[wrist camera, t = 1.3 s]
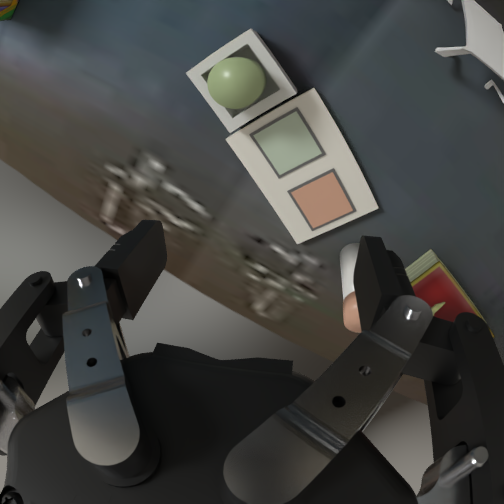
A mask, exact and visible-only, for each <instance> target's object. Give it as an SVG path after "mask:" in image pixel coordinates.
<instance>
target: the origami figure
mask: <svg viewBox="0 0 504 504" xmlns="http://www.w3.org/2000/svg"><path fill="white" fill-rule="evenodd" d="M447 1H448V2H449V3H450V4H451V5H452V2H453V0H447ZM461 1H462V7H463V12H464V17H465V27H466V46H464V47H447V48H436V51H435V52H436V53H438V54H440V55H442V56H443V57H448V56H454V55H462V54H472V55H473V56H475V57H476V58H477V59H479V60H480V61H481V62H482V63H484V64H485V65H486V66H487V67H489V68H490V69H491V70H492V71H493V72H494V73H496V74H497V75H498V76H499V77H500V78H501V79H502V80H504V32H503V30H502V24H500V23H498V22H497V21H496V20H495V18H493V17H492V16H491V15H490V14H489V13H488V12H486V11H485V10H484V9H483V8H482V7H481V6H480V5H479V4H477V3H476V2H475V1H474V0H461ZM492 85H493V86H494V87H495V89H496V91H497V93H498V94H499V96H500V98H501V100H502V102H503V103H504V96H503V95H502V93H501V92H500V90H499V89H498V87H497V86H496V84H495V83H494V81H493V80H490V81H489V82H488V83H486V84H485V86H484V87H485V88H486V89H488V88H490V87H491V86H492Z"/></svg>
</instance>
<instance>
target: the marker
mask: <svg viewBox="0 0 504 504" xmlns="http://www.w3.org/2000/svg"><path fill="white" fill-rule="evenodd" d="M359 245H360V244H359V243H351V244H348V245H346V246H345V247H344V248H343V249H342V250H341V252H340V266H341V277H342V289H343V316H344V325H345V326H346V328H347V329H349V330H350V331H353V332H357V333H361V325H360V319H359V313H358V307H357V301H356V295H355V290H354V284H353V275H354V268H355V263H356V259H357V254H358V249H359Z"/></svg>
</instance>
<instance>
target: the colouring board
mask: <svg viewBox="0 0 504 504" xmlns="http://www.w3.org/2000/svg"><path fill="white" fill-rule="evenodd" d="M226 141H227V142H228V144H229V145H230V146H231V148H232V149H233V151H234V152H235V153H236V155H237V156H238V158H239V159H240V160H241V162H242V163H243V165H244V166H245V168H246V169H247V170H248V172H249V173H250V175H251V176H252V178H253V179H254V181H255V182H256V183H257V185H258V186H259V188H260V189H261V191H262V192H263V194H264V195H265V197H266V198H267V200H268V201H269V202H270V204H271V205H272V207H273V208H274V210H275V211H276V213H277V214H278V216H279V217H280V219H281V220H282V222H283V223H284V225H285V226H286V228H287V229H288V231H289V232H290V234H291V235H292V237H293V238H294V240H295V241H296V243H297V244H299V243H302V242H304V241H306V240H308V239H311V238H313V237H315V236H317V235H320V234H322V233H324V232H327V231H329V230H331V229H333V228H336V227H338V226H340V225H342V224H345V223H347V222H349V221H351V220H354V219H356V218H358V217H360V216H363V215H365V214H367V213H369V212H372V211H374V210H376V209H378V205H377V203H376V201H375V199H374V197H373V194H372V192H371V190H370V188H369V186H368V184H367V182H366V180H365V178H364V176H363V174H362V172H361V170H360V168H359V166H358V164H357V162H356V160H355V158H354V156H353V154H352V152H351V150H350V149H349V147H348V145H347V143H346V141H345V139H344V137H343V136H342V134H341V132H340V130H339V128H338V127H337V125H336V123H335V121H334V120H333V118H332V116H331V115H330V113H329V111H328V109H327V108H326V106H325V104H324V103H323V101H322V100H321V98H320V96H319V95H318V93H317V91H316V90H315V88H312V89H310V90H308V91H306V92H305V93H303V94H301V95H299V96H297V97H295V98H293V99H292V100H290V101H288V102H286V103H284V104H283V105H281V106H279V107H277V108H276V109H274V110H272V111H270V112H269V113H267V114H265V115H264V116H262V117H260V118H258V119H257V120H255V121H253V122H252V123H250V124H248V125H247V126H245V127H244V128H242V129H240V130H239V131H237V132H236V133H234V134H232V135H231V136H229V137H228V138H227V139H226Z"/></svg>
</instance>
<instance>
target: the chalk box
mask: <svg viewBox="0 0 504 504" xmlns="http://www.w3.org/2000/svg"><path fill="white" fill-rule="evenodd" d="M18 1H19V0H0V21H4V20H10V19H11V18H12V15H13V13H14V10H15V8H16V6H17V3H18Z"/></svg>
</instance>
